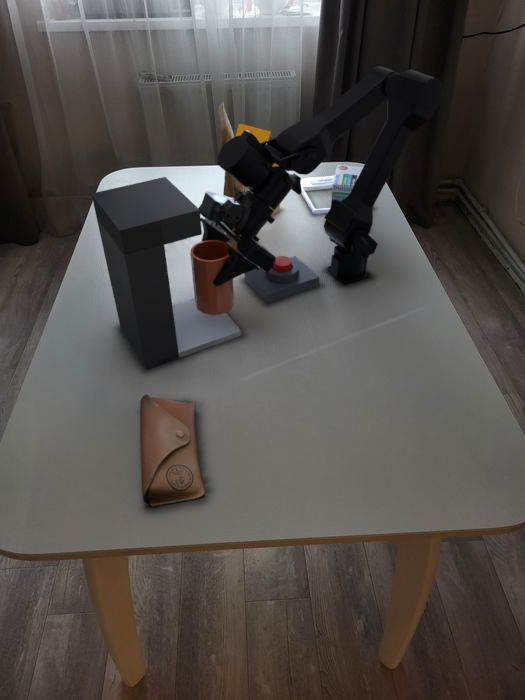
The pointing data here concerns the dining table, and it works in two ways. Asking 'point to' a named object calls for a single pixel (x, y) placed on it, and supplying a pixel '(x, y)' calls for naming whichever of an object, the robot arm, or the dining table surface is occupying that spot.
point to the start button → (282, 264)
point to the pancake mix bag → (230, 183)
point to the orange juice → (261, 136)
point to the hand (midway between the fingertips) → (205, 274)
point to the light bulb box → (344, 181)
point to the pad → (282, 281)
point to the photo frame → (316, 184)
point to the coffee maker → (153, 271)
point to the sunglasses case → (169, 452)
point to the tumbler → (211, 277)
